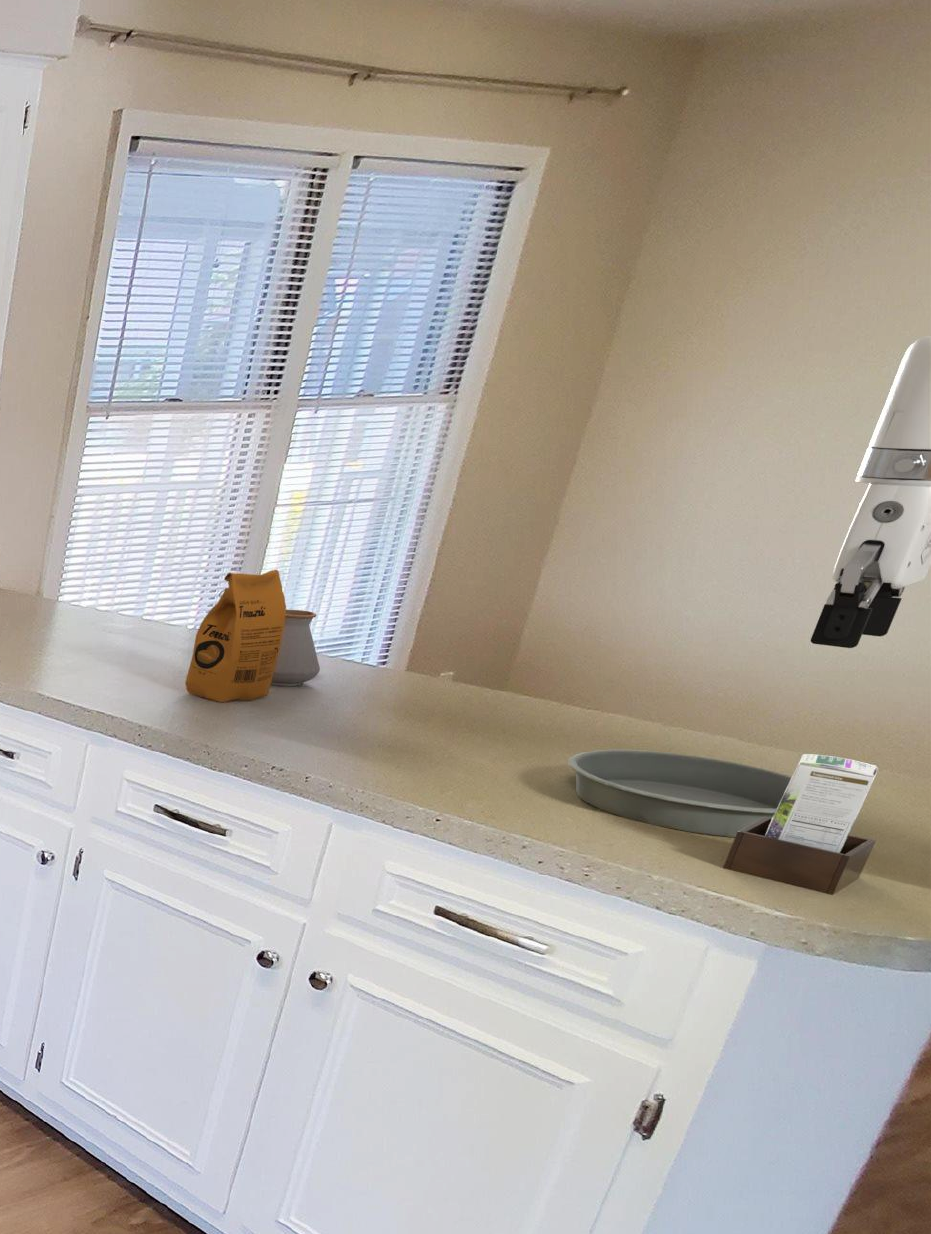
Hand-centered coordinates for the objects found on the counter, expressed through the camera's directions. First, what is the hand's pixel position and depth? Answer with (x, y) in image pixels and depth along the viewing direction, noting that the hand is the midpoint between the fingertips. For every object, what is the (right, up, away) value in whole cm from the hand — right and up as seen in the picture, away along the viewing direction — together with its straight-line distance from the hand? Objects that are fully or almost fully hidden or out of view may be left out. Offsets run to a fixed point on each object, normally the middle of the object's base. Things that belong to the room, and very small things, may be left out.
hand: (847, 639), depth 121 cm
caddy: (+5, -26, +10) cm, 28 cm away
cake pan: (+17, -17, +32) cm, 40 cm away
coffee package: (-7, +4, +88) cm, 89 cm away
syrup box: (+5, -26, +10) cm, 29 cm away
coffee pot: (+7, +9, +101) cm, 102 cm away
